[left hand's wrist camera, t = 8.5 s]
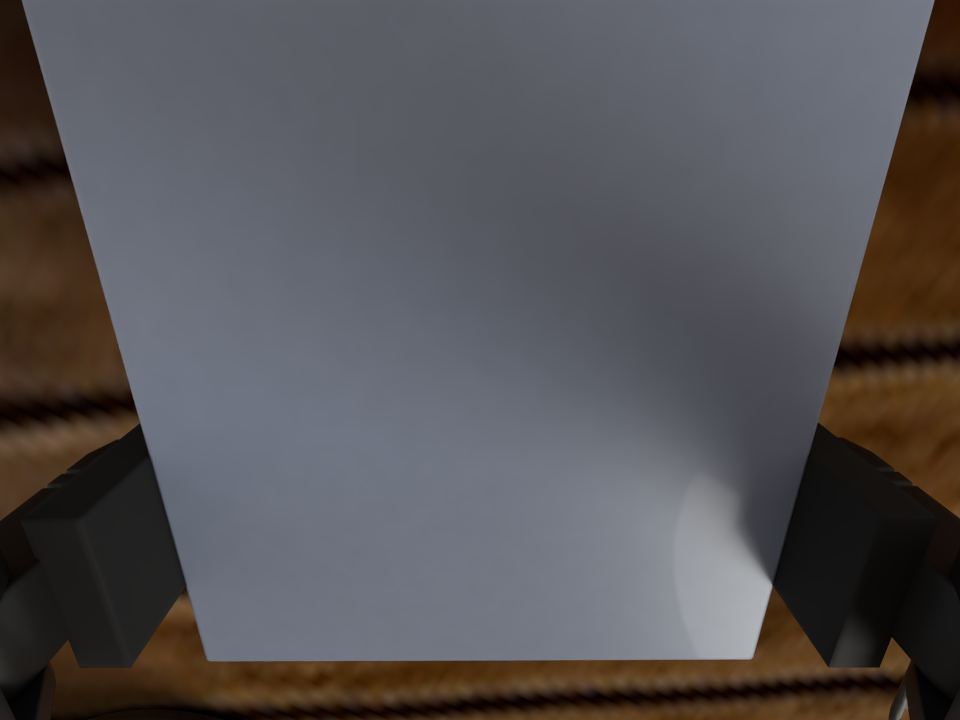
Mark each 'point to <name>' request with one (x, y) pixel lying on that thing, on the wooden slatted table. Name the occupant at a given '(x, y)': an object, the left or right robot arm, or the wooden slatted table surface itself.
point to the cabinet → (478, 302)
